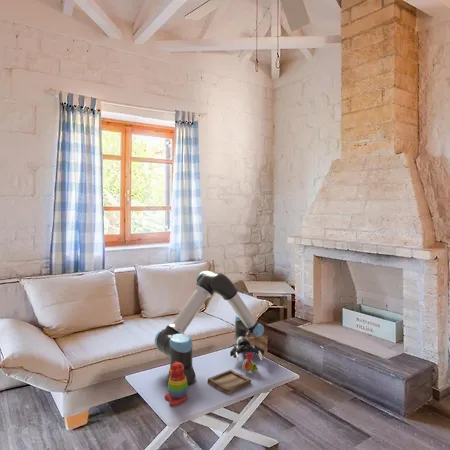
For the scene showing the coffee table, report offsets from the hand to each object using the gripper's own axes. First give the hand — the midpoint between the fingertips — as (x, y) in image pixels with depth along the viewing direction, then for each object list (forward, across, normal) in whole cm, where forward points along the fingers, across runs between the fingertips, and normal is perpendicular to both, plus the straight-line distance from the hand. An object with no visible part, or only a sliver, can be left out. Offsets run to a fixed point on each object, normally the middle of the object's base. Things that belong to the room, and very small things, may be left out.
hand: (249, 358), depth 205 cm
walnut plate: (+14, +14, -6) cm, 21 cm away
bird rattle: (+3, +1, -7) cm, 7 cm away
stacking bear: (+27, +40, -7) cm, 49 cm away
